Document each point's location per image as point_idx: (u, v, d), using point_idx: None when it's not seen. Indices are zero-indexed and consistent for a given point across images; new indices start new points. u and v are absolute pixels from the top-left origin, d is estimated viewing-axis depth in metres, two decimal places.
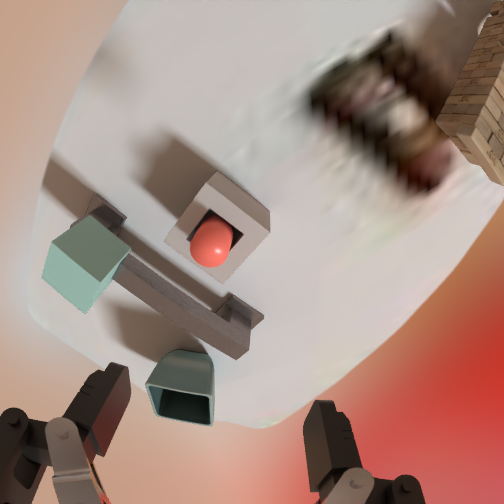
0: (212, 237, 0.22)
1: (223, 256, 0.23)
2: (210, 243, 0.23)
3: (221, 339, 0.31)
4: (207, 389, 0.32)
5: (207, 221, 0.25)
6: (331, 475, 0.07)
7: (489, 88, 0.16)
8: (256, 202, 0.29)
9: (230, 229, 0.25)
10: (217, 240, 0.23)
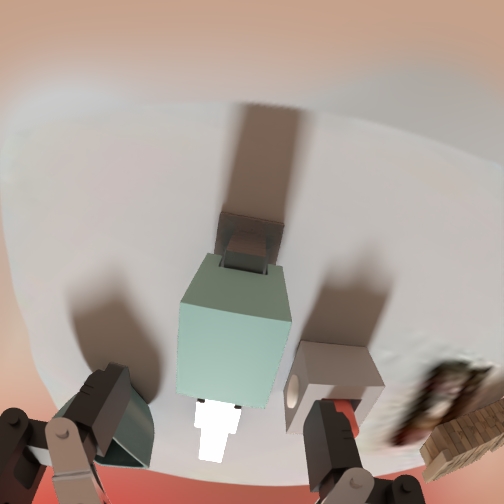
0: (353, 432, 0.19)
1: None
2: None
3: (216, 447, 0.23)
4: (148, 459, 0.22)
5: (349, 404, 0.21)
6: (331, 475, 0.07)
7: (475, 445, 0.24)
8: None
9: None
10: None
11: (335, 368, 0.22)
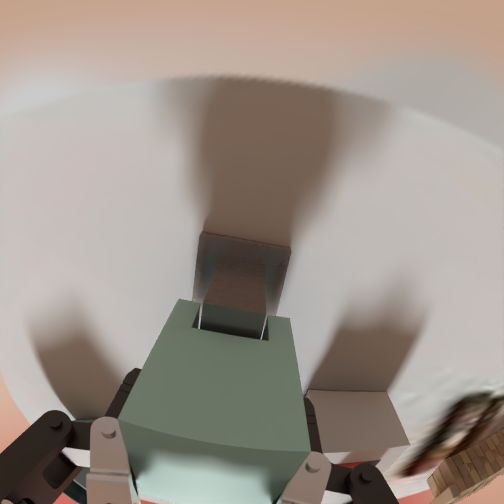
0: None
1: None
2: None
3: None
4: None
5: None
6: None
7: (485, 477, 0.18)
8: None
9: None
10: None
11: (352, 427, 0.16)
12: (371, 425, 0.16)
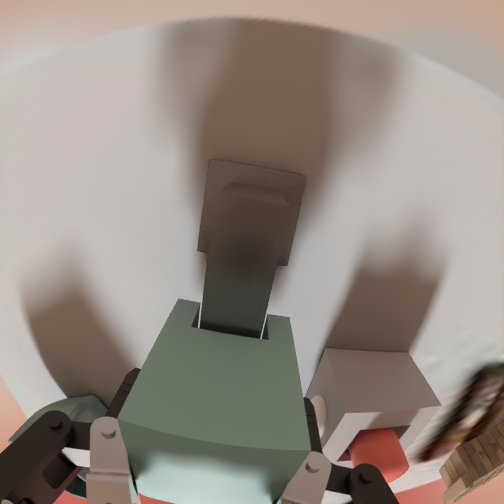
0: (401, 471, 0.11)
1: None
2: (393, 474, 0.11)
3: None
4: None
5: (394, 433, 0.13)
6: None
7: (498, 464, 0.18)
8: None
9: None
10: (398, 474, 0.11)
11: (377, 386, 0.15)
12: (398, 384, 0.15)
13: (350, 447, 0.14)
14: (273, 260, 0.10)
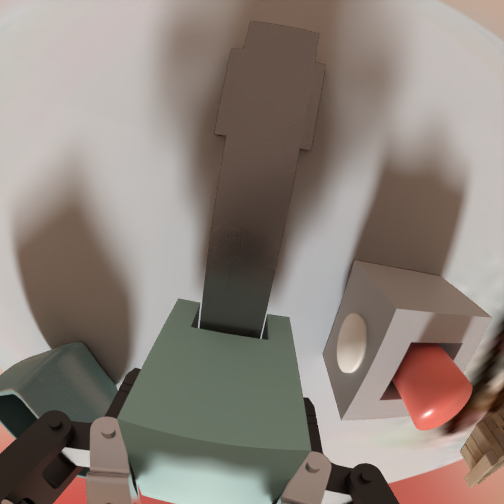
0: (463, 398, 0.09)
1: (435, 424, 0.09)
2: (455, 402, 0.09)
3: None
4: None
5: None
6: None
7: None
8: None
9: None
10: (459, 405, 0.09)
11: (421, 293, 0.13)
12: (441, 295, 0.13)
13: (397, 375, 0.12)
14: (307, 78, 0.08)
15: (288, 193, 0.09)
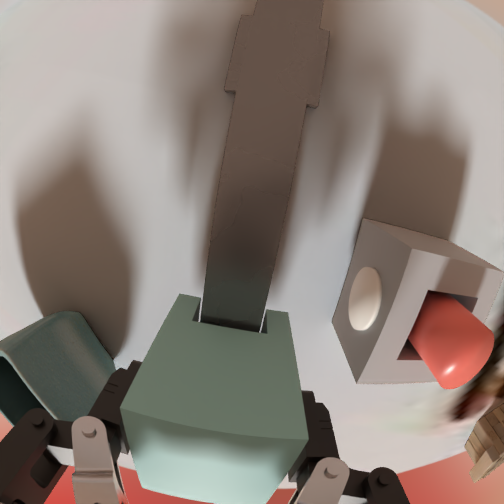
0: (486, 352, 0.09)
1: (458, 382, 0.09)
2: (478, 356, 0.09)
3: None
4: None
5: None
6: (307, 464, 0.08)
7: None
8: None
9: None
10: (481, 360, 0.09)
11: (433, 245, 0.12)
12: (452, 250, 0.12)
13: (415, 330, 0.11)
14: (315, 24, 0.08)
15: (300, 120, 0.09)
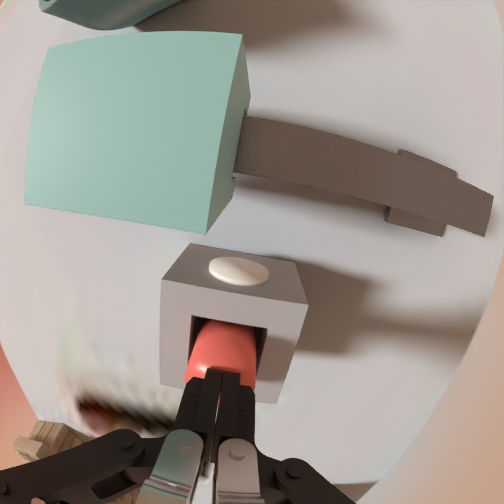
0: None
1: None
2: None
3: None
4: (60, 10, 0.07)
5: None
6: (219, 443, 0.08)
7: None
8: None
9: None
10: None
11: None
12: None
13: (225, 323, 0.14)
14: (463, 226, 0.12)
15: (406, 209, 0.12)
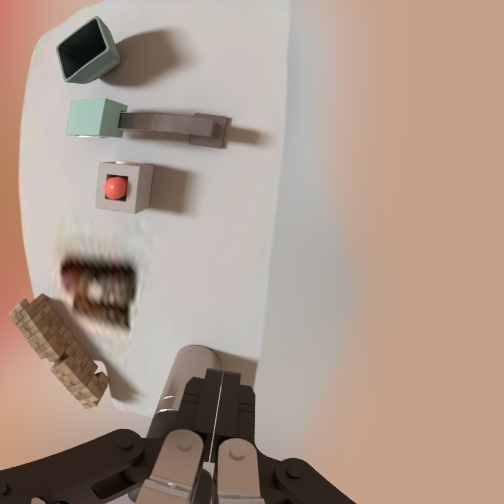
0: (114, 196, 0.37)
1: (105, 189, 0.37)
2: (114, 192, 0.37)
3: None
4: (71, 81, 0.30)
5: None
6: (220, 443, 0.08)
7: (38, 327, 0.45)
8: None
9: None
10: (112, 196, 0.37)
11: (142, 183, 0.40)
12: (142, 194, 0.40)
13: (121, 176, 0.39)
14: (196, 133, 0.35)
15: (168, 130, 0.35)
